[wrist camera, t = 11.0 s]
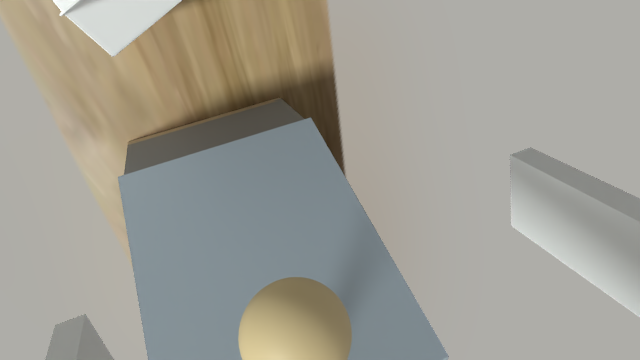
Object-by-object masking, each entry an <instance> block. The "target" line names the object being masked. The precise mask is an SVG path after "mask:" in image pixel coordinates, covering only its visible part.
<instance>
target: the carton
mask: <svg viewBox="0 0 640 360" xmlns="http://www.w3.org/2000/svg"><path fill="white" fill-rule="evenodd" d="M301 120H304V118H303V117H302V116H301V115H299V114H298V113H297V112H296V111H295V110H294V109H293V108H291V107H290V106H289V105H288V104H287V103H286V102H285V101H284V100H282V99H281V98H280V97H279V98H276V99H272V100H269V101H266V102H262V103H259V104H255V105H252V106H249V107H245V108H242V109H238V110H235V111H232V112H228V113H225V114H221V115H218V116H215V117H211V118H208V119H204V120H201V121H198V122H194V123H191V124H187V125H184V126H181V127H177V128H174V129H171V130H167V131H164V132H160V133H157V134H154V135H150V136H147V137H143V138H140V139H137V140H133V141H130V142H128V148H127V156H126V164H125V172H124V175H126V174H129V173H132V172H136V171H139V170H142V169H145V168H148V167H152V166H155V165H158V164H161V163H165V162H168V161H171V160H174V159H178V158H181V157H184V156H187V155H191V154H194V153H197V152H200V151H203V150H207V149H210V148H213V147H216V146H220V145H223V144H226V143H229V142H233V141H236V140H239V139H242V138H246V137H249V136H252V135H255V134H259V133H262V132H265V131H268V130H271V129H275V128H278V127H281V126H284V125H288V124H291V123H294V122H297V121H301Z"/></svg>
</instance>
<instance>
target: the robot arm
mask: <svg viewBox="0 0 640 360" xmlns="http://www.w3.org/2000/svg"><path fill="white" fill-rule="evenodd" d="M510 175H511V176H510V177H511V226H512V227H514V228H515V229H516V230H518V231H520V232H521V233H522V234H523V235H525V236H526V237H528V238H529V239H530V240H532V241H533V242H535V243H536V244H537V245H539V246H540V247H542V248H543V249H544V250H546V251H547V252H549V253H550V254H552V255H553V256H554V257H556V258H557V259H558V260H560V261H561V262H563V263H564V264H565V265H567V266H568V267H570V268H571V269H573V270H574V271H575V272H577V273H578V274H580V275H581V276H582V277H584V278H585V279H587V280H588V281H589V282H591V283H592V284H594V285H595V286H597V287H598V288H599V289H601V290H602V291H603V292H605V293H606V294H608V295H609V296H611V297H612V298H613V299H615V300H616V301H617V302H619V303H620V304H622V305H623V306H625V307H626V308H627V309H629V310H630V311H631V312H633V313H634V314H636V315H637V316H638V317H640V199H639V198H637V197H635V196H633V195H631V194H629V193H627V192H625V191H623V190H620V189H618V188H616V187H614V186H612V185H610V184H608V183H605V182H603V181H601V180H599V179H597V178H595V177H593V176H591V175H588V174H586V173H584V172H582V171H580V170H578V169H576V168H573V167H571V166H569V165H567V164H565V163H563V162H561V161H558V160H556V159H554V158H552V157H550V156H548V155H545V154H543V153H541V152H539V151H537V150H535V149H533V148H528V149H525V150H523V151H520V152H517V153H514V154H512V155H510ZM46 360H114V359H113V357H112V356H111V355H110V352H109V351H108V349H107V348H106V346H105V344H104V343H103V341H102V340H101V338H100V337H99V335H98V333H97V332H96V330H95V328H94V327H93V325H92V324H91V322H90V320H89V319H88V318H87V316H86V314H84V315H81V316H79V317H76V318H73V319H70V320H68V321H65V322H62V323H60V324H57V325H55V328H54V331H53V335H52V338H51V342H50V346H49V349H48V353H47V356H46Z"/></svg>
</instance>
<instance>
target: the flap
mask: <svg viewBox="0 0 640 360" xmlns="http://www.w3.org/2000/svg"><path fill="white" fill-rule="evenodd" d="M118 180H119V186H120V192H121V198H122V204H123V210H124V217H125V223H126V229H127V235H128V241H129V247H130V253H131V259H132V265H133V271H134V277H135V283H136V289H137V295H138V301H139V307H140V313H141V319H142V325H143V331H144V337H145V344H146V350H147V356H148V360H447V359H448V357H449V356H448V354H447V353H446V351H445V349H444V347H443V346H442V344H441V342H440V340H439V339H438V337H437V335H436V334H435V332H434V330H433V328H432V327H431V325H430V323H429V321H428V320H427V318H426V316H425V314H424V313H423V311H422V310H421V308H420V306H419V304H418V303H417V301H416V299H415V297H414V295H413V294H412V292H411V290H410V289H409V287H408V285H407V283H406V282H405V280H404V278H403V276H402V275H401V273H400V271H399V269H398V268H397V266H396V264H395V263H394V261H393V259H392V257H391V256H390V254H389V252H388V250H387V249H386V247H385V245H384V244H383V242H382V240H381V238H380V237H379V235H378V233H377V231H376V230H375V228H374V226H373V224H372V223H371V221H370V219H369V218H368V216H367V214H366V212H365V211H364V209H363V207H362V205H361V204H360V202H359V200H358V198H357V197H356V195H355V193H354V191H353V190H352V188H351V186H350V184H349V183H348V181H347V179H346V178H345V176H344V174H343V172H342V171H341V169H340V167H339V165H338V164H337V162H336V160H335V158H334V157H333V155H332V153H331V152H330V150H329V148H328V146H327V145H326V143H325V141H324V139H323V138H322V136H321V134H320V133H319V131H318V129H317V127H316V126H315V124H314V122H313V120H312V119H311V117H310V118H307V119H304V120H301V121H297V122H294V123H291V124H288V125H284V126H281V127H278V128H275V129H271V130H268V131H265V132H262V133H259V134H255V135H252V136H249V137H246V138H242V139H239V140H236V141H233V142H229V143H226V144H223V145H220V146H216V147H213V148H210V149H207V150H203V151H200V152H197V153H194V154H191V155H187V156H184V157H181V158H178V159H174V160H171V161H168V162H165V163H161V164H158V165H155V166H152V167H148V168H145V169H142V170H139V171H136V172H132V173H129V174H126V175H123V176H119V177H118Z"/></svg>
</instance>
